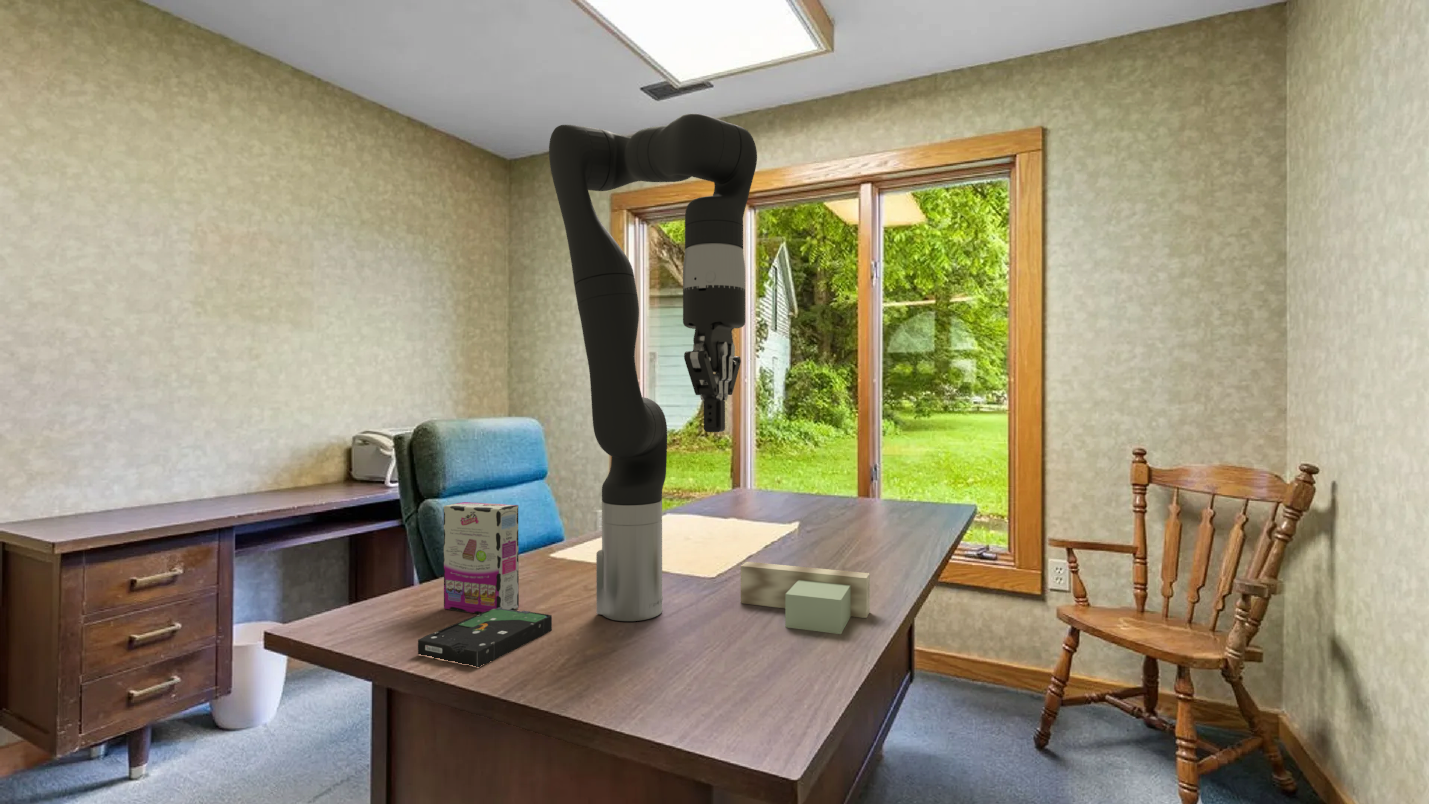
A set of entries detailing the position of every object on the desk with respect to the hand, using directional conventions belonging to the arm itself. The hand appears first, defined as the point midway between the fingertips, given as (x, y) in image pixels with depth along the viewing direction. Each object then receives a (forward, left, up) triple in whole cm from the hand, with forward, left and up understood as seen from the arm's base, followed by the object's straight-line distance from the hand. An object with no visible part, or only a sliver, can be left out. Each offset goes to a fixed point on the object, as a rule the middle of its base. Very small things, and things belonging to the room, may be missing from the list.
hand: (714, 431), depth 80 cm
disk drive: (-32, -2, -30) cm, 44 cm away
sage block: (+8, +22, -29) cm, 38 cm away
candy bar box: (-43, +9, -29) cm, 53 cm away
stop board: (+4, +28, -29) cm, 41 cm away
